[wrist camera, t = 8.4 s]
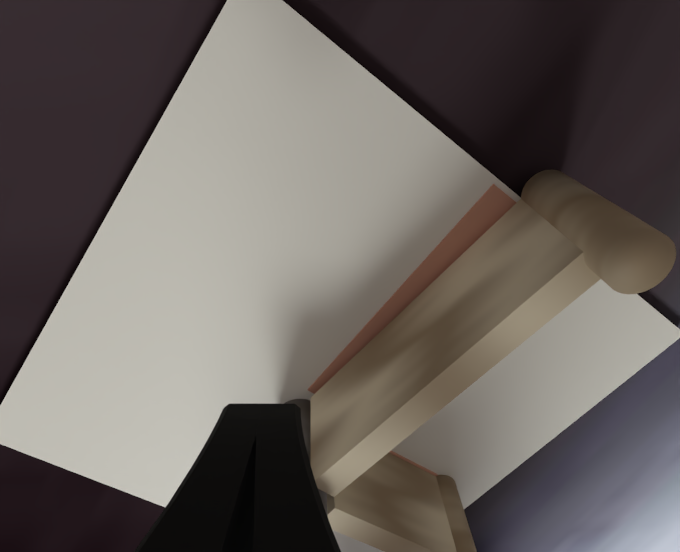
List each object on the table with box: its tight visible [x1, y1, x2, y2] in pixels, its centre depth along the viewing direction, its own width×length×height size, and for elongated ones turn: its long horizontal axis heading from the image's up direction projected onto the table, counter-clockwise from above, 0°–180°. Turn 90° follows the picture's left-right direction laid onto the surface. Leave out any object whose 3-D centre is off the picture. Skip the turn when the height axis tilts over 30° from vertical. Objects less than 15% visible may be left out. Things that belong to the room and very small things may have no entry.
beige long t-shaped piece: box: [311, 169, 676, 497], centre depth 15 cm, size 12×2×5 cm, turn 139°
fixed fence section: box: [284, 399, 477, 552], centre depth 19 cm, size 10×2×5 cm, turn 53°
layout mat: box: [0, 0, 680, 552], centre depth 19 cm, size 20×20×1 cm
